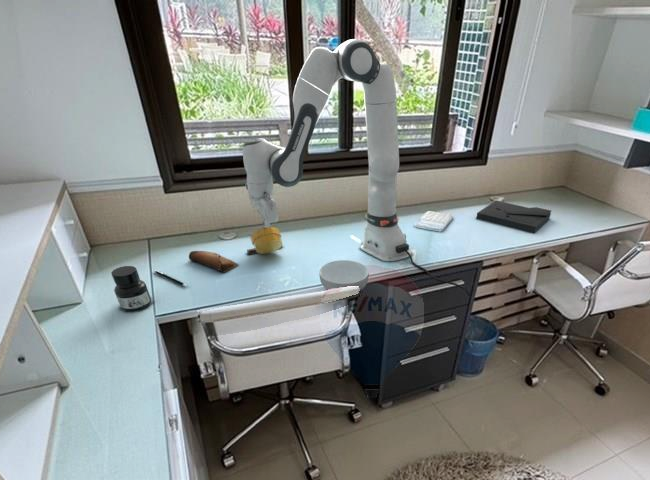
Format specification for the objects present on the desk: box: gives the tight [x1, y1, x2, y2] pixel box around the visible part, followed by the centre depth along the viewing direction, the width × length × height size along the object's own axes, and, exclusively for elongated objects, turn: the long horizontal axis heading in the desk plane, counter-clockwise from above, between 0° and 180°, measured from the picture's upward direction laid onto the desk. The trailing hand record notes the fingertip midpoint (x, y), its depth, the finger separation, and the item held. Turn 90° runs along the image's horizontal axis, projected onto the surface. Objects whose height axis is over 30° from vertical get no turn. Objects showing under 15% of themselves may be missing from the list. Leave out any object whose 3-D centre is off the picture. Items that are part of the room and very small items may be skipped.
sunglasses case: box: [188, 250, 239, 273], centre depth 152 cm, size 18×7×7 cm
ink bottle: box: [111, 265, 152, 312], centre depth 126 cm, size 10×9×12 cm
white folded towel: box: [414, 210, 454, 233], centre depth 191 cm, size 13×20×2 cm, turn 155°
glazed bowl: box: [249, 226, 283, 255], centre depth 157 cm, size 11×11×6 cm
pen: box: [153, 269, 188, 287], centre depth 142 cm, size 1×19×1 cm, turn 56°
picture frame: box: [475, 200, 552, 234], centre depth 197 cm, size 23×4×28 cm
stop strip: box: [246, 245, 283, 255], centre depth 163 cm, size 1×14×2 cm, turn 120°
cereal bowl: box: [318, 259, 370, 291], centre depth 138 cm, size 17×17×7 cm
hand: (266, 226), depth 151 cm, fingers closed
